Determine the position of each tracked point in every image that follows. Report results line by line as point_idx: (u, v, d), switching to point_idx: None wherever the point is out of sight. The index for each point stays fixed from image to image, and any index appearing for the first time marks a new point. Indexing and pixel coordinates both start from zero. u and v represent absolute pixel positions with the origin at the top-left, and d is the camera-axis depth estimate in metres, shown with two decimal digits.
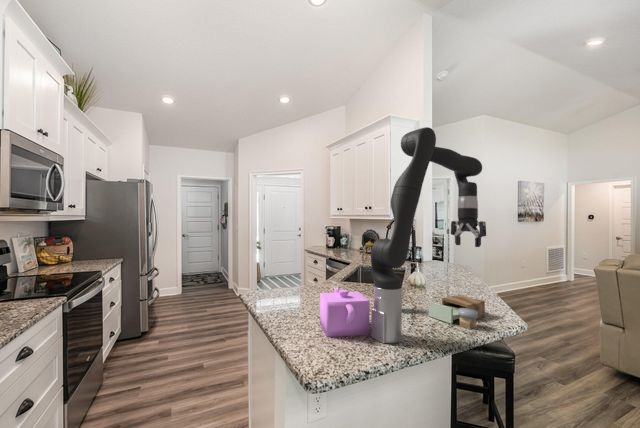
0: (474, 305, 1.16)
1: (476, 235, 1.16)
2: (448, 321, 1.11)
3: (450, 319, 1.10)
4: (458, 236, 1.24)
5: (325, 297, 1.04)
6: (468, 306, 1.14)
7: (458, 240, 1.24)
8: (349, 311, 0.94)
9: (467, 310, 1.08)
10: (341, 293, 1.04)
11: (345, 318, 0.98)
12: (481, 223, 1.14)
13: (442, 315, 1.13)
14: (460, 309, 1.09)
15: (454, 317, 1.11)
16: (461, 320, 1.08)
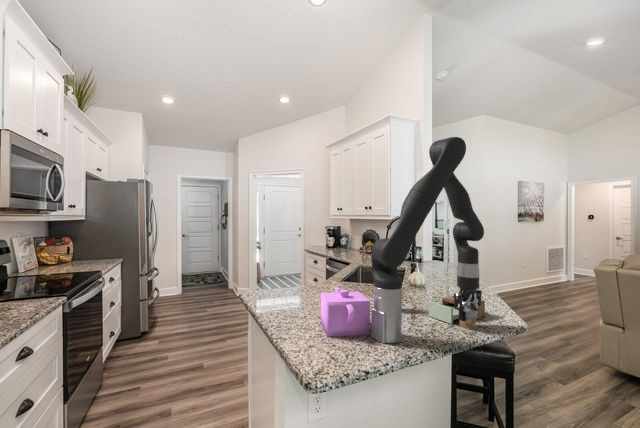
0: None
1: (477, 306, 1.09)
2: (448, 321, 1.11)
3: (450, 319, 1.10)
4: None
5: (326, 297, 1.04)
6: (468, 306, 1.14)
7: None
8: (349, 311, 0.94)
9: (467, 310, 1.08)
10: (342, 293, 1.04)
11: (345, 318, 0.98)
12: (481, 292, 1.11)
13: (442, 315, 1.13)
14: None
15: (454, 317, 1.11)
16: None
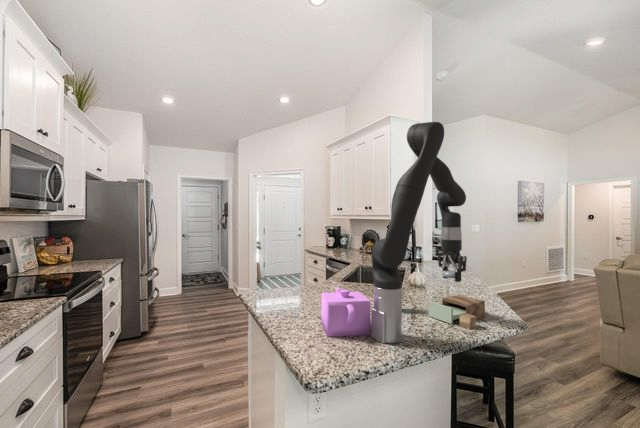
0: (474, 305, 1.16)
1: None
2: (448, 321, 1.11)
3: (450, 319, 1.10)
4: None
5: (326, 297, 1.04)
6: (468, 306, 1.14)
7: None
8: (349, 311, 0.94)
9: (451, 271, 1.15)
10: (342, 293, 1.04)
11: (346, 318, 0.98)
12: None
13: (442, 315, 1.13)
14: (449, 272, 1.14)
15: (454, 317, 1.11)
16: (461, 320, 1.08)
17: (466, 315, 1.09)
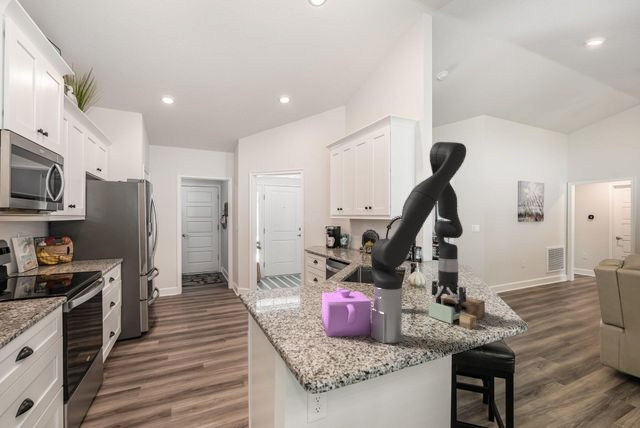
0: (474, 305, 1.16)
1: None
2: (448, 321, 1.11)
3: (450, 319, 1.10)
4: None
5: (327, 297, 1.04)
6: (468, 306, 1.14)
7: None
8: (350, 311, 0.94)
9: None
10: (342, 293, 1.04)
11: (346, 318, 0.98)
12: None
13: (442, 315, 1.13)
14: None
15: (454, 317, 1.11)
16: (461, 320, 1.08)
17: (466, 315, 1.09)
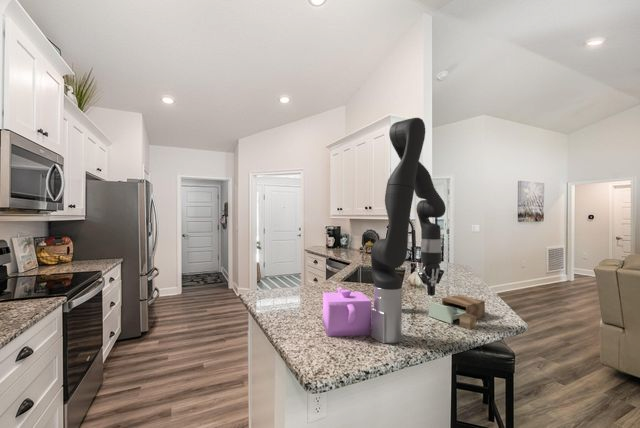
0: (474, 305, 1.16)
1: (434, 283, 1.11)
2: (448, 321, 1.11)
3: (450, 319, 1.10)
4: None
5: (327, 297, 1.04)
6: (468, 306, 1.14)
7: None
8: (350, 311, 0.95)
9: None
10: (343, 293, 1.04)
11: (346, 318, 0.99)
12: (443, 272, 1.14)
13: (442, 315, 1.13)
14: None
15: (454, 317, 1.11)
16: (461, 320, 1.08)
17: (466, 315, 1.09)
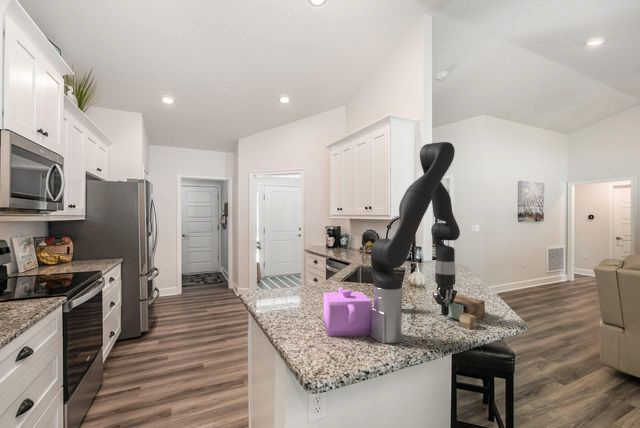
0: (474, 305, 1.16)
1: (448, 303, 1.16)
2: (459, 318, 1.14)
3: None
4: None
5: (328, 297, 1.04)
6: (468, 306, 1.14)
7: None
8: (350, 311, 0.95)
9: None
10: (344, 293, 1.04)
11: (347, 318, 0.99)
12: (456, 293, 1.18)
13: (453, 313, 1.17)
14: None
15: None
16: (461, 320, 1.08)
17: (466, 315, 1.09)
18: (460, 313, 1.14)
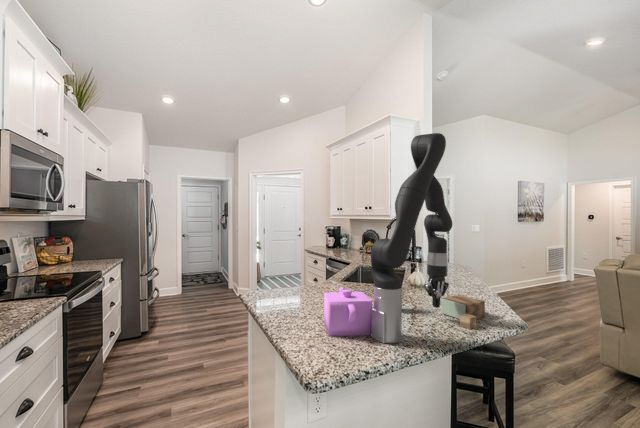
0: (474, 305, 1.16)
1: (440, 295, 1.15)
2: None
3: None
4: None
5: (328, 296, 1.04)
6: (468, 306, 1.14)
7: None
8: (350, 311, 0.95)
9: None
10: (344, 293, 1.04)
11: (347, 318, 0.99)
12: (448, 285, 1.18)
13: (455, 312, 1.17)
14: None
15: None
16: (461, 320, 1.08)
17: (466, 315, 1.09)
18: (462, 312, 1.14)
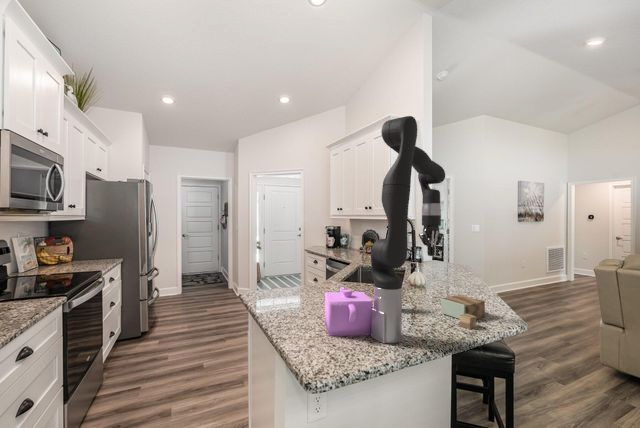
0: (474, 305, 1.16)
1: (434, 244, 1.20)
2: None
3: None
4: None
5: (329, 296, 1.05)
6: (468, 306, 1.14)
7: None
8: (351, 311, 0.95)
9: None
10: (345, 293, 1.04)
11: (348, 318, 0.99)
12: (442, 235, 1.22)
13: (455, 312, 1.17)
14: None
15: None
16: (461, 320, 1.08)
17: (466, 315, 1.09)
18: (462, 312, 1.14)
